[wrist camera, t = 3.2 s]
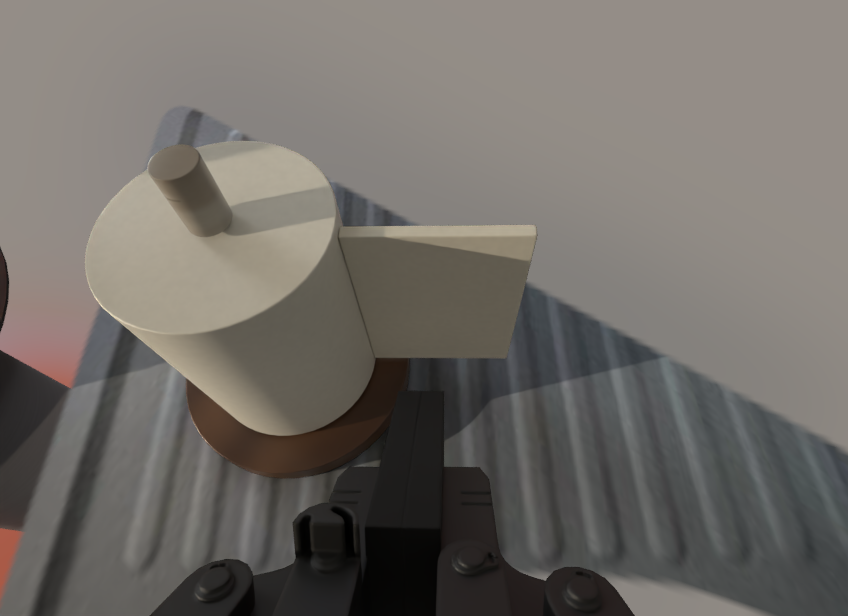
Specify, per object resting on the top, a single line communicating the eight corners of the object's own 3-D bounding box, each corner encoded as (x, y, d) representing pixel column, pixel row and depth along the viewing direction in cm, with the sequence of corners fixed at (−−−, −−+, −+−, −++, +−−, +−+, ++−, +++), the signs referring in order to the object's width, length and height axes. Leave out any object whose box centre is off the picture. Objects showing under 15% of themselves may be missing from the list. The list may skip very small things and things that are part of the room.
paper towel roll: (184, 406, 29) (27, 294, 18) (264, 275, 33) (177, 123, 23) (467, 503, 25) (483, 436, 14) (511, 341, 30) (546, 199, 19)
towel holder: (152, 436, 29) (-153, 273, 14) (261, 261, 36) (129, 25, 21) (362, 512, 27) (253, 408, 12) (437, 307, 33) (429, 74, 18)
